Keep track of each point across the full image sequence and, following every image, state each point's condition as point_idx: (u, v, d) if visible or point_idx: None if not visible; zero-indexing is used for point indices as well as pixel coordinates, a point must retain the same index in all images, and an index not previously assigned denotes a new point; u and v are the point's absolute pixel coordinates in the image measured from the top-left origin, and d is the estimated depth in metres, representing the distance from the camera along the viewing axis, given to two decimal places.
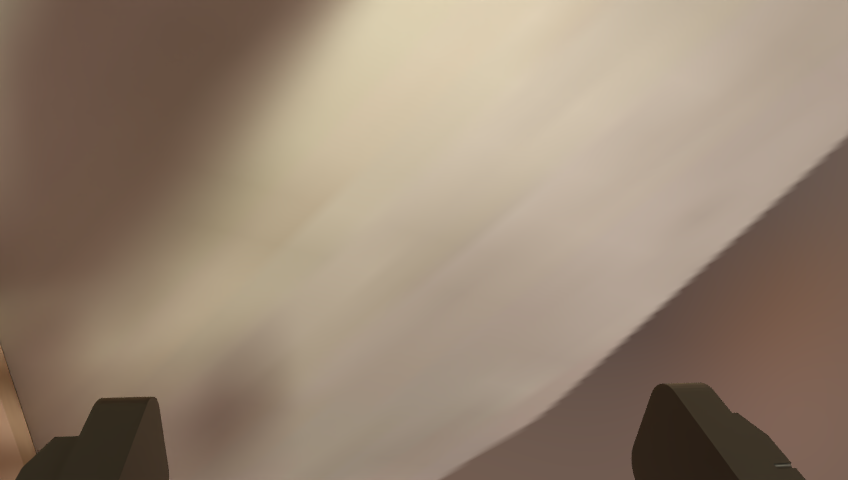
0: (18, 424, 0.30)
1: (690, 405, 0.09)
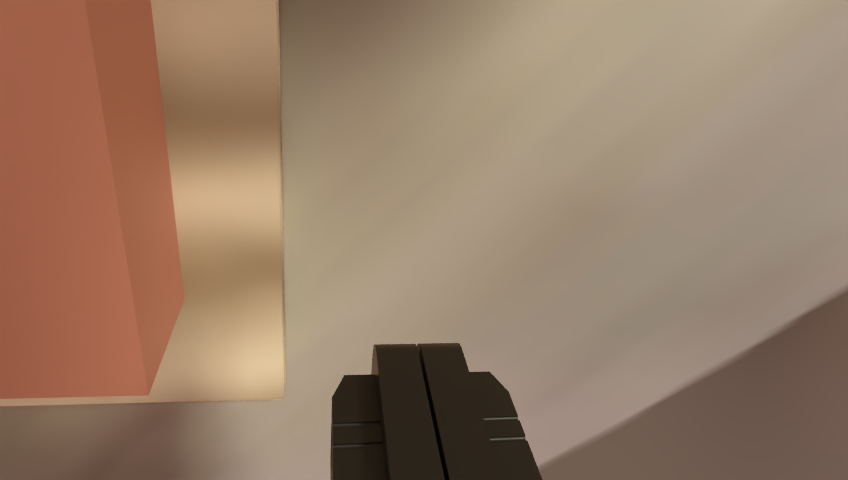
0: (281, 211, 0.21)
1: (431, 362, 0.10)
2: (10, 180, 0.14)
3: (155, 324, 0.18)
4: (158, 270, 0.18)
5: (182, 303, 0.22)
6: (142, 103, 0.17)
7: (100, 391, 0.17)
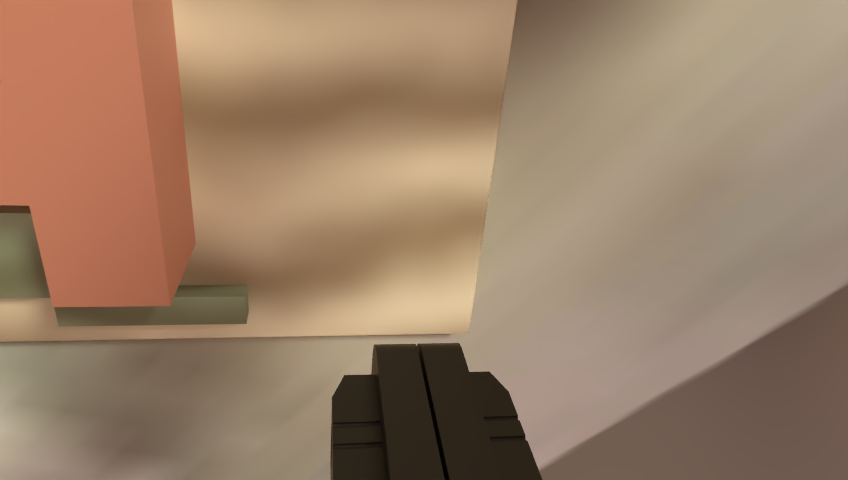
0: None
1: (431, 362, 0.10)
2: (70, 126, 0.19)
3: (175, 252, 0.23)
4: (176, 209, 0.23)
5: None
6: (165, 73, 0.21)
7: (132, 301, 0.22)
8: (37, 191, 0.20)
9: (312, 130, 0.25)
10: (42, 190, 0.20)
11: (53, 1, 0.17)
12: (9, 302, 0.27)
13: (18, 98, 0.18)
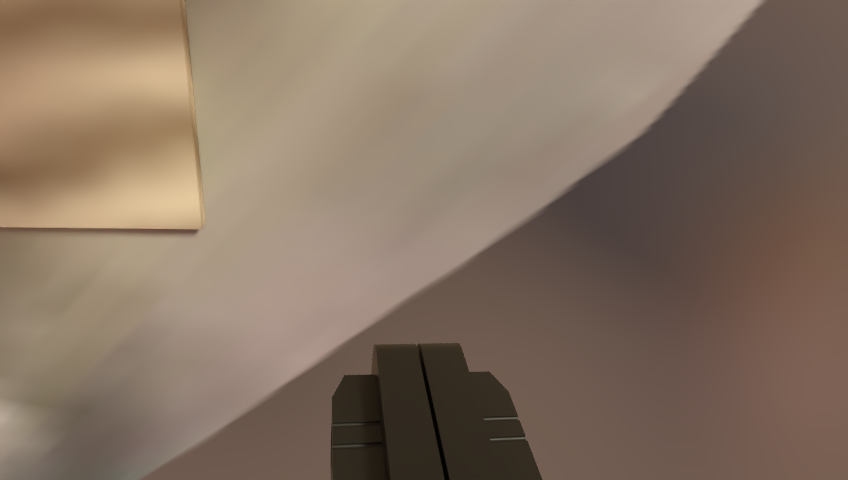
0: (190, 88, 0.33)
1: (430, 362, 0.10)
2: None
3: None
4: None
5: None
6: None
7: None
8: None
9: (16, 40, 0.30)
10: None
11: None
12: None
13: None
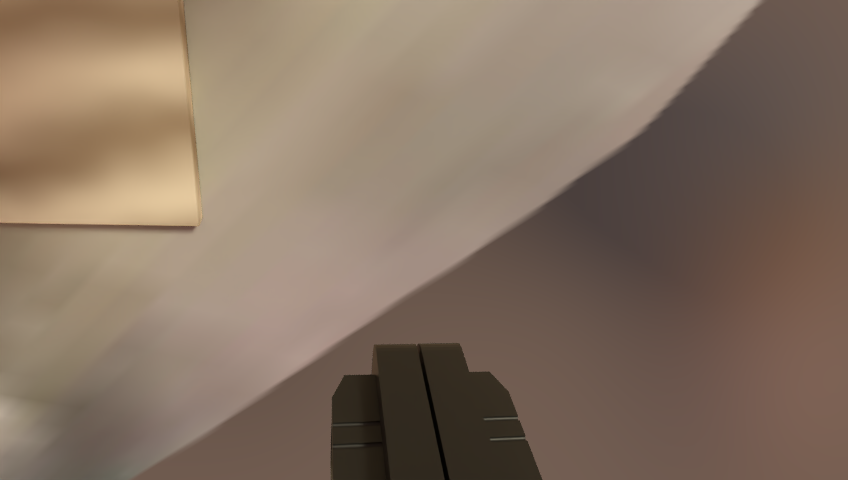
0: (188, 84, 0.33)
1: (430, 362, 0.10)
2: None
3: None
4: None
5: None
6: None
7: None
8: None
9: (14, 35, 0.30)
10: None
11: None
12: None
13: None
